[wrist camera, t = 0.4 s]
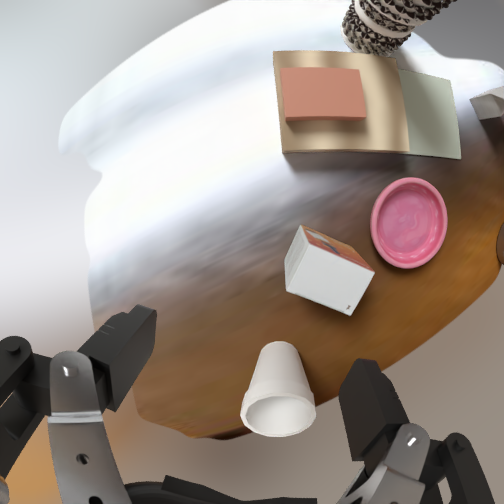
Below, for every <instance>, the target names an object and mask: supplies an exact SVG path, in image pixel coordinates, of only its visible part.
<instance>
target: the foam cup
mask: <svg viewBox="0 0 504 504" xmlns="http://www.w3.org/2000/svg"><path fill="white" fill-rule="evenodd" d="M240 416H241V418H242V421H243V423H244V425H245V426H247V427H248V428H249V429H251V430H252V431H253V432H255V433H259V434H262V435H265V436H273V437H285V436H289V435H293V434H297V433H300V432H301V431H303V430H305V429H306V428H308V427H310V426H311V424H312V423H313V421H314V419H315V418H316V410H315V402H314V395H313V393H312V392H311V390H310V387H309V384H308V381H307V378H306V375H305V372H304V369H303V366H302V362H301V359H300V356H299V353H298V351H297V349H296V348H295V347H294V346H293V345H292V344H289V343H287V342H277V341H275V342H272V343H270V344H267V345H266V346H265V347H264V348H263V349H262V350H261V352H260V355H259V358H258V361H257V365H256V368H255V371H254V374H253V377H252V380H251V383H250V386H249V389H248V391H247V392H246V393H245V396H244V399H243V402H242V408H241V414H240Z"/></svg>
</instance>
